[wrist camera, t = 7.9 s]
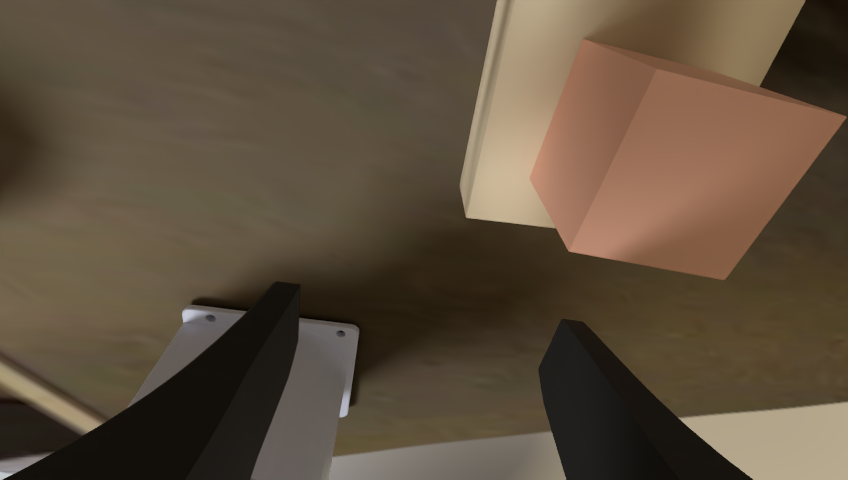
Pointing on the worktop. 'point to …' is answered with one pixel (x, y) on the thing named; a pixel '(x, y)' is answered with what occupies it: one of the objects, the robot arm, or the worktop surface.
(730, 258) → the terracotta cube
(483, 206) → the birch base block
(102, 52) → the worktop surface
